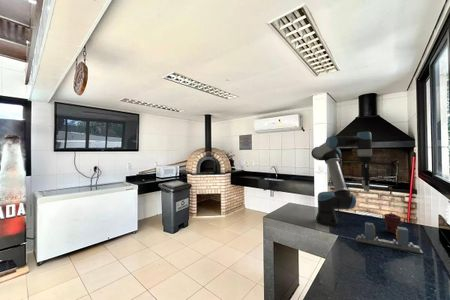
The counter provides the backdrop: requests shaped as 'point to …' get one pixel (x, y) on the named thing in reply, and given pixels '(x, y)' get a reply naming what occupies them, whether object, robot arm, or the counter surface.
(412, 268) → the counter surface
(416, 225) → the counter surface
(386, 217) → the mechanical component
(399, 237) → the pale blue-grey block
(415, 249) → the rail
